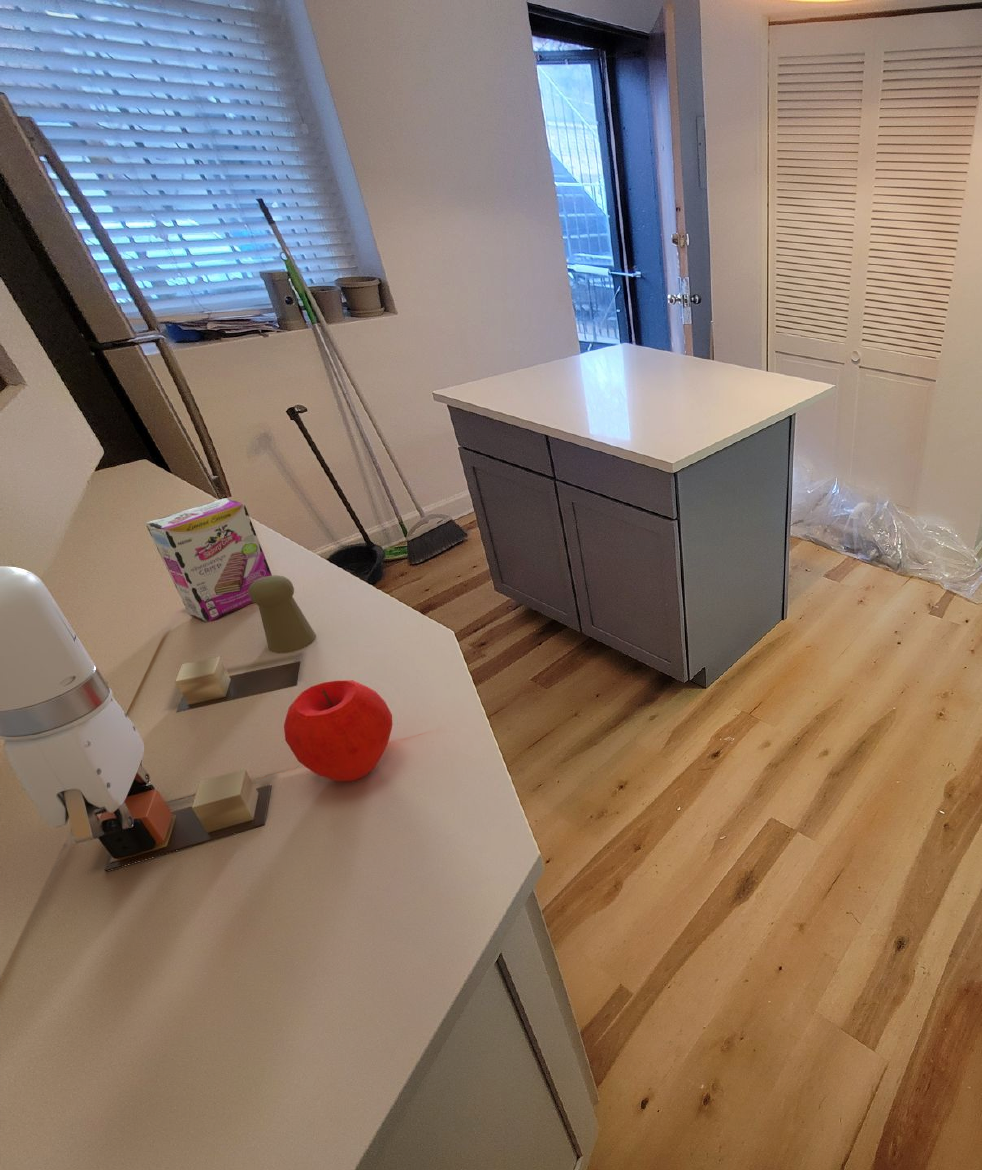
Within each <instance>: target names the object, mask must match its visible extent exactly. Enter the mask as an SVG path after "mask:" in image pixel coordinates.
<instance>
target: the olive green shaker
mask: <svg viewBox="0 0 982 1170" xmlns="http://www.w3.org/2000/svg"><path fill="white" fill-rule="evenodd" d="M294 593H295V587H294V584H293V582H292V581H291V580H290V579H289V578H287V577H285V576H284V575H278V574H277V575H273V574H272V576H267V577H263V578H260V579H258V580H256V581H254V582H253V583H252V584H250V586H249V589H248V594H249V597H250V599H251V600H252V604H255V605H256V606H258V609H259V610H258V611H259V614H260V618H261V623H262V626H263V631H264V635H265V639H266V644H267V647H268V650H269V651H270V652H272V653H274V654H288V653H294V652H297V651H300V650H303V649H305V648H307V647H309V646H310V645H311V644H313V642H314V641H315V640H316V638H317V634H316V633H315V631H314V629H313V627H312V626H311V623H309V621H308V619H307V618H306V615H304V613H303V612H302V610H301V608H300V606H299V605H298V603H297V601H296V600H295V598H294Z"/></svg>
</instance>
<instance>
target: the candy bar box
mask: <svg viewBox="0 0 982 1170" xmlns="http://www.w3.org/2000/svg"><path fill="white" fill-rule="evenodd" d="M245 504H246V503H243V502H239V501H236V500H232V499H229V498H227V497H225V498H221V499H217V500H214V501H211V502H208V503H205V504H201V505H198V506H195V507H192V508H189V509H186V510H182V511H178V512H176V513H173V514H169V515H167V516H163V517H160V518H157V519H153V520H150V521H147V522H145V523H144V524H145V526H146V528H147V531H148V533H149V534H150V536H151V538H152V540H153V542H154V545H155V546H156V549H157V551H158V553H159V555H160V557H161V559H162V562H163V563H164V565H165V567H166V569H167V572H168V573H169V576H170V578H171V580H172V582H173V585H174V586H175V588H176V590H177V592H178V595H179V597H180V599H181V600H182V603H183V605H184V607H185V609H186V611H187V613H188V615H189V616H190V617H193V618H194V619H195V618H196V619H198V620H200V621H202V622H206V623H211V622H213V621H216V620H217V619H220V618H221V617H224V616H226V615H228V614H231V613H233V612H235V611H238V610H239V609H242V608H244V607H246V606H248V605H250V604H253V602H252V600H251V599H250V597H249V594H248V589H249V586H250V584H252V583H253V582H254V581H256V580H258V579H260V578H263V577H267V576H273V574H272V571H271V569H270V566H269V564H268V561H267V559H266V555H265V552H264V551H263V549H262V546H261V544H260V543H261V542H260V540H259V538H258V535H257V533H256V530H255V527H254V525H253V522H252V520H251V517H250V515H249V512H248V508H247V507H246V505H245Z"/></svg>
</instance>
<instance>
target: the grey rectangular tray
mask: <svg viewBox="0 0 982 1170" xmlns="http://www.w3.org/2000/svg"><path fill="white" fill-rule="evenodd" d="M222 661H223V660H222V659H221V657H220V656H217V657H216V656H215V657H211V658H206V659H200V660H196V661H191V662H186V663H182V664H181V665H180V667H179V671H178V673H177V674H176V675H177V676H176V678H175V681H174V682H175V685H176V686H177V688H178V690H179V691H180V694H181V695H182V697H181V699H180V702H179V704H178V707H177V709H176V713H180V712H185V711H189V710H193V709H199V708H203V707H207V706H212V705H216V704H220V703H224V702H230V701H233V700H238V699H243V698H247V697H253V696H257V695H261V694H265V693H271V692H274V691H279V690H283V689H288V688H293V687H296V686H298V682H299V676H300V671H301V670H300V669H301V663H302V661H301V660H299V661H295V662H289V663H285V664H281V665H275V666H271V667H265V668H260V669H255V670H251V671H247V672H242V673H238V674H237V673H236V674H233V675H229V672H228V671H227V669H226V666H225V665H224V663H223V662H222Z"/></svg>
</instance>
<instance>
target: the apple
mask: <svg viewBox="0 0 982 1170" xmlns="http://www.w3.org/2000/svg"><path fill="white" fill-rule="evenodd" d="M392 729H393V714H392V712H391V710H390V708H389V707H388V704H387V703H386V701H385V700H384V699H383V698H382V696H381V695H380V694H379V693H378V692H377V691H376V690H374V689H372V688H371V687H369V686H367V685H364V684H362V683H360V682H358V681H356V680H353V679H351V680H350V679H347V680H332V681H325V682H320V683H317V684H315V685H312V686H310V687H308V688H307V689H305V690H303V691H302V692H301V693H300V694H298V696H296V698H295V699H294V700H293V702H291V704H290V706H289V707H288V709H287V713H286V716H285V720H284V724H283V731H284V740H285V742H286V744H287V745H288V747H289V749H290V750H291V752H292V754H293V755H294V757H295V758H296V760H297V761H298V762H299V764H301V765H302V766H304V767H305V768H307V769H308V770H309V771H310V772H312V773H314V774H315V775H317V776H320V777H322V778H325V779H328V780H332V781H338V782H351V781H355V780H360V779H361V778H363V777H365V776H367V775H368V774H369V773H370V772H371V771H372V770H373V769H374V768H375V767H376V766H377V765H378V764H379V762H380V761H381V758H382V756H383V754H384V752H385V750H386V748H387V746H388V744H389V741H390V737H391V734H392Z"/></svg>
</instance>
